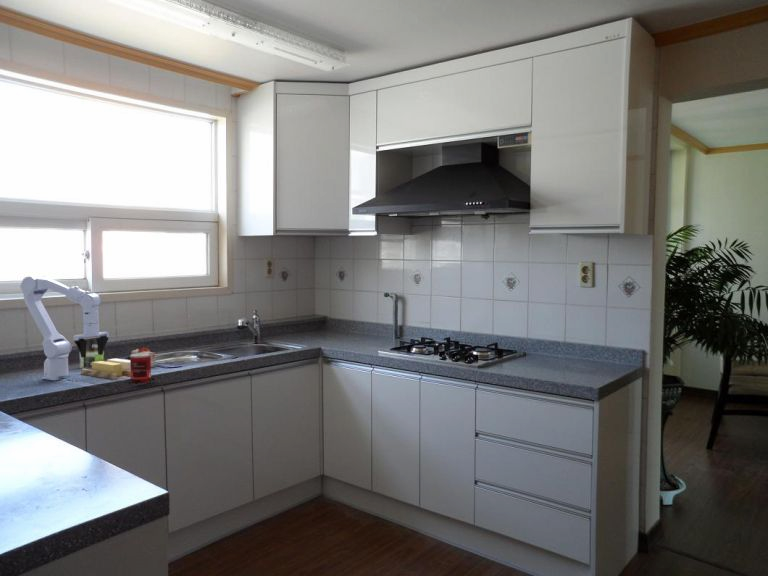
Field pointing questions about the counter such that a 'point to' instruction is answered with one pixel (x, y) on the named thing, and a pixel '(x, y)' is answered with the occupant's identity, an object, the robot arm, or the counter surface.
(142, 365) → the canned food
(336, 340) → the counter surface
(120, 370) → the pale yellow bar
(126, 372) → the slot board
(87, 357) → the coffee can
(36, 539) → the counter surface
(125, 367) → the white bar
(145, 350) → the food item
